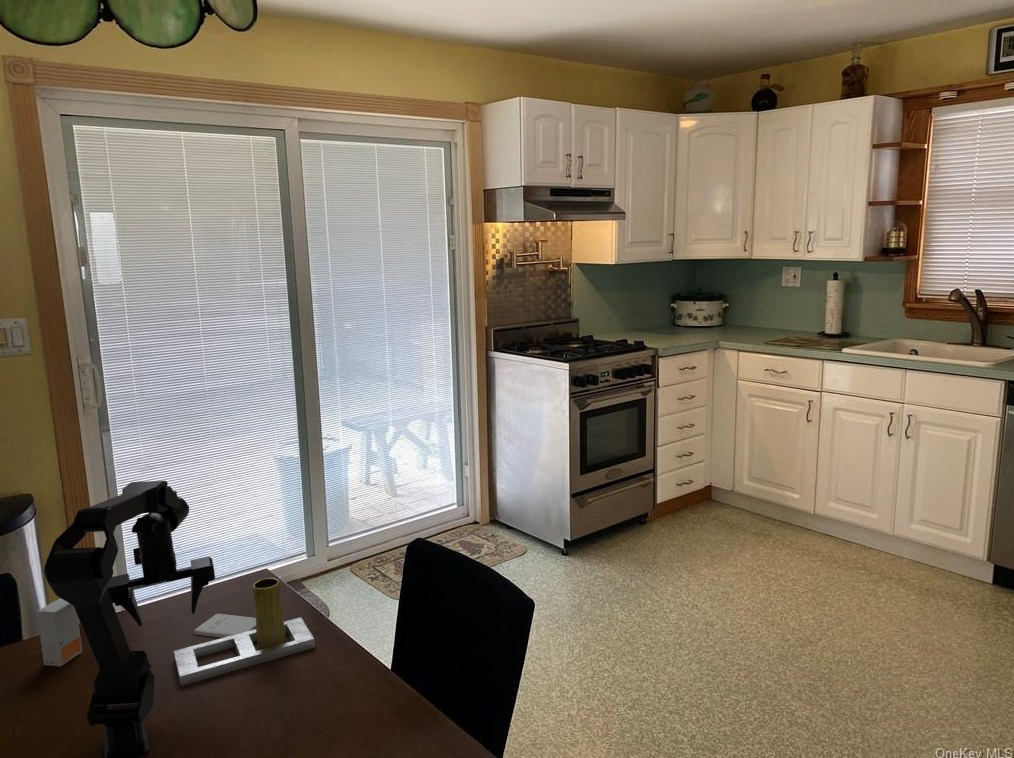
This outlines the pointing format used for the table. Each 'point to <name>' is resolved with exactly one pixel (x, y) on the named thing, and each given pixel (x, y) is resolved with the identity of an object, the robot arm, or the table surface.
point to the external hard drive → (226, 625)
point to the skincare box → (59, 632)
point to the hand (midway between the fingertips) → (167, 619)
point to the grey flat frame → (239, 652)
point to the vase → (268, 613)
